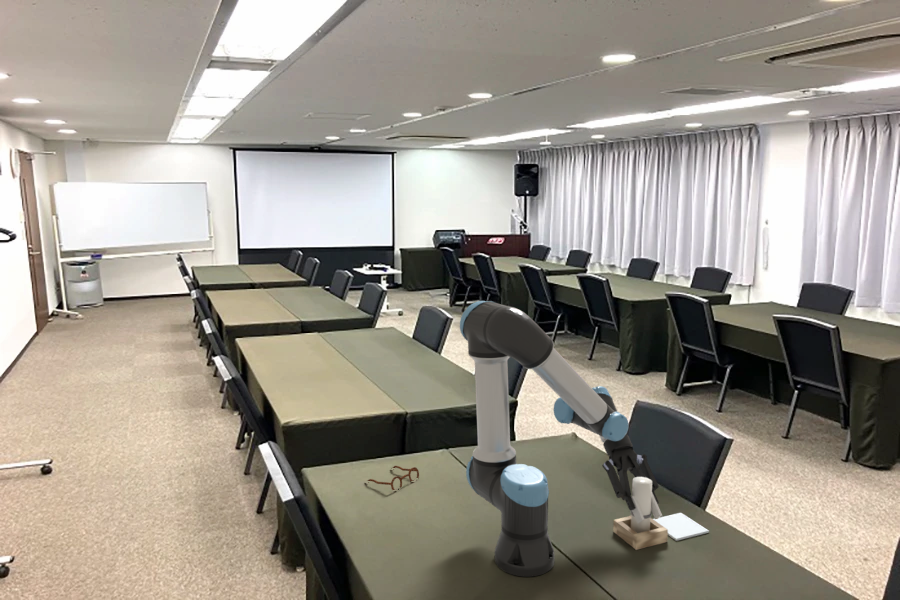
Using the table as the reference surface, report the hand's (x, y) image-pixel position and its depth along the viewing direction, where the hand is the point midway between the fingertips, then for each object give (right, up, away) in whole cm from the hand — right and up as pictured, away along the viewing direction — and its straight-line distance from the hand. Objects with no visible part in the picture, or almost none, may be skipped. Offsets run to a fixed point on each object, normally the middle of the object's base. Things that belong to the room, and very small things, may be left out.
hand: (649, 519), depth 170 cm
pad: (+11, -5, +9) cm, 15 cm away
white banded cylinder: (-1, -4, +4) cm, 6 cm away
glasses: (-72, -2, +41) cm, 83 cm away
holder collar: (-1, -6, +4) cm, 8 cm away
